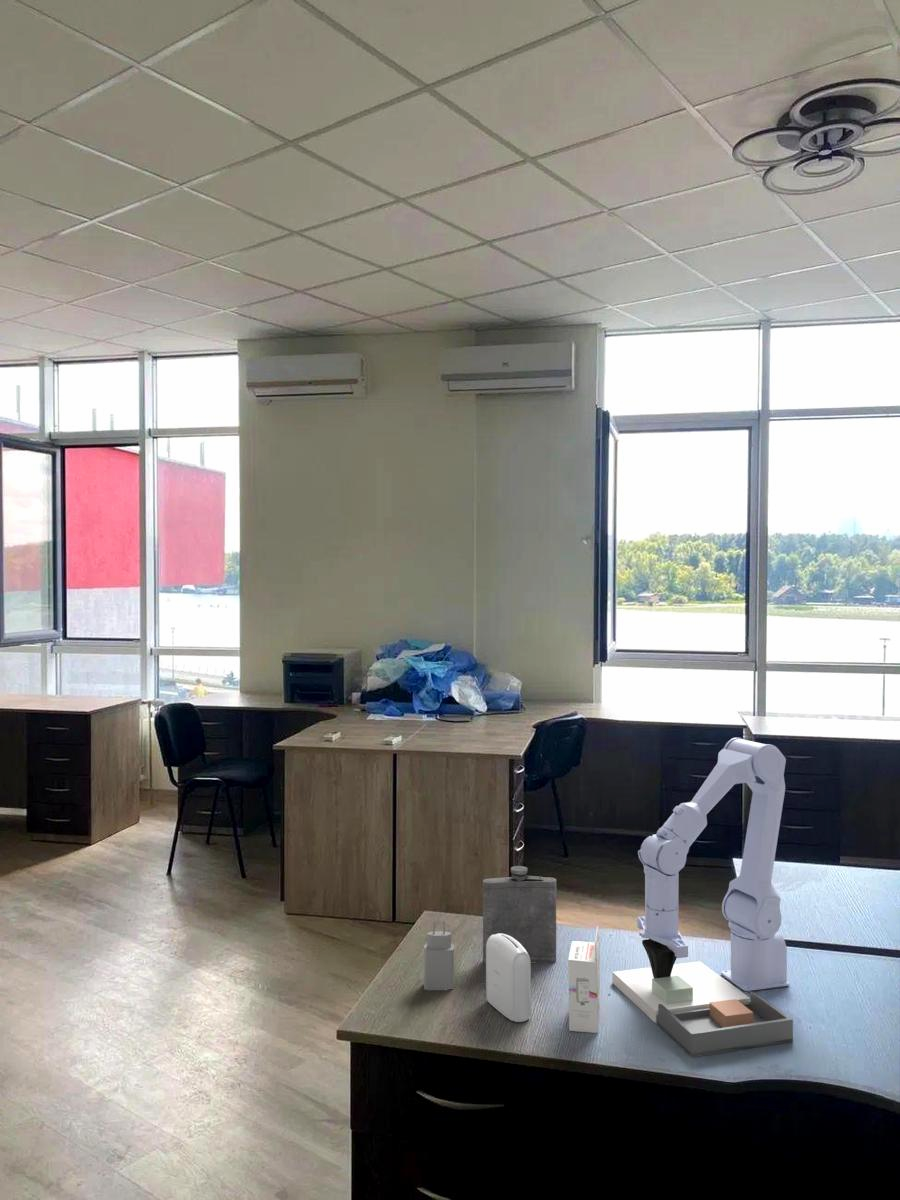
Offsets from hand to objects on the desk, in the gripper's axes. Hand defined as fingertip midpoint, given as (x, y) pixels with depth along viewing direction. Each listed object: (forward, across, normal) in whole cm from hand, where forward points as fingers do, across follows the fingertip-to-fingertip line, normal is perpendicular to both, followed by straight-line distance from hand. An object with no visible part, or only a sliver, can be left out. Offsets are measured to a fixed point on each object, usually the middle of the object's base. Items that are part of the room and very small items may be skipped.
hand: (661, 983), depth 155 cm
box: (+3, +14, +4) cm, 14 cm away
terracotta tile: (+2, +11, +6) cm, 13 cm away
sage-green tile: (+1, +4, 0) cm, 4 cm away
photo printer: (+3, -3, -28) cm, 28 cm away
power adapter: (+3, -15, -37) cm, 40 cm away
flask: (+3, -22, -19) cm, 29 cm away
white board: (+3, 0, +4) cm, 4 cm away
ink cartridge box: (+3, +4, -16) cm, 17 cm away
